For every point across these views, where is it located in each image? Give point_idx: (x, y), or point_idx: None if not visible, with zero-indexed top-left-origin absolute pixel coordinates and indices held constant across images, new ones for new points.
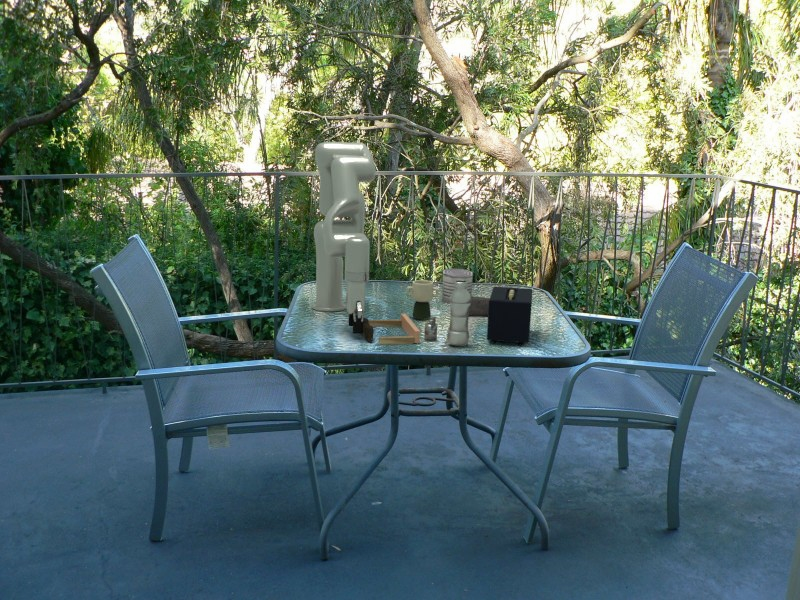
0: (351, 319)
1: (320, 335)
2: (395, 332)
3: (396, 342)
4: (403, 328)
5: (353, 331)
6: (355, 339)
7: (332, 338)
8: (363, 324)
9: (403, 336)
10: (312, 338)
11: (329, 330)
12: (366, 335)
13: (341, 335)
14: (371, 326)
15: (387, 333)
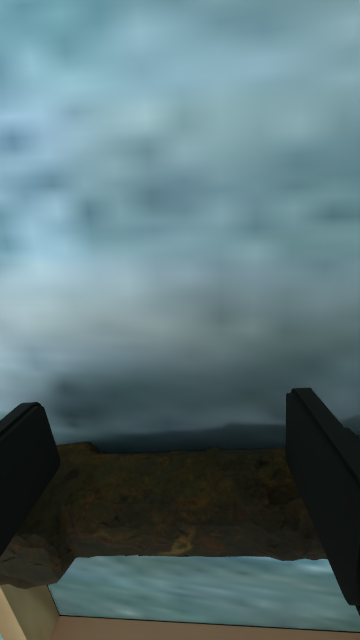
0: (319, 462)
1: (142, 105)
2: (241, 591)
3: None
4: (309, 636)
5: (11, 418)
6: (64, 392)
7: (59, 230)
8: (192, 522)
9: (23, 633)
10: (21, 17)
11: (331, 195)
12: None
13: (157, 304)
14: (28, 581)
15: (220, 558)
